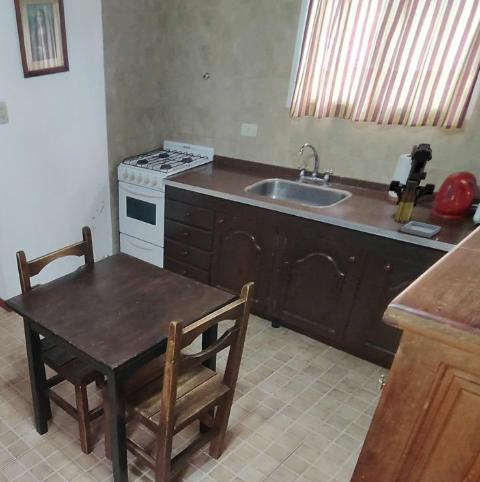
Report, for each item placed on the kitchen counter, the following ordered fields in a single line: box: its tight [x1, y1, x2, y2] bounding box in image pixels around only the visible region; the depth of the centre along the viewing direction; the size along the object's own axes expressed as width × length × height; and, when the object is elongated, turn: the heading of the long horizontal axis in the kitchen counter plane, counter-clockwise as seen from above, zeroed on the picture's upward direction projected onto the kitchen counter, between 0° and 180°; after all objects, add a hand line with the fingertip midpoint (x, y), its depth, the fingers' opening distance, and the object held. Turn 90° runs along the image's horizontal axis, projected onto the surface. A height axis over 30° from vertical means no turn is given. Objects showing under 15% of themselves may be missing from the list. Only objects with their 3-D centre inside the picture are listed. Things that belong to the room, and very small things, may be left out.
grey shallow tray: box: [400, 220, 442, 239], centre depth 233 cm, size 12×13×2 cm
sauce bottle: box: [394, 180, 418, 225], centre depth 229 cm, size 6×6×20 cm
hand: (406, 203), depth 228 cm, fingers closed on sauce bottle, 6 cm apart
